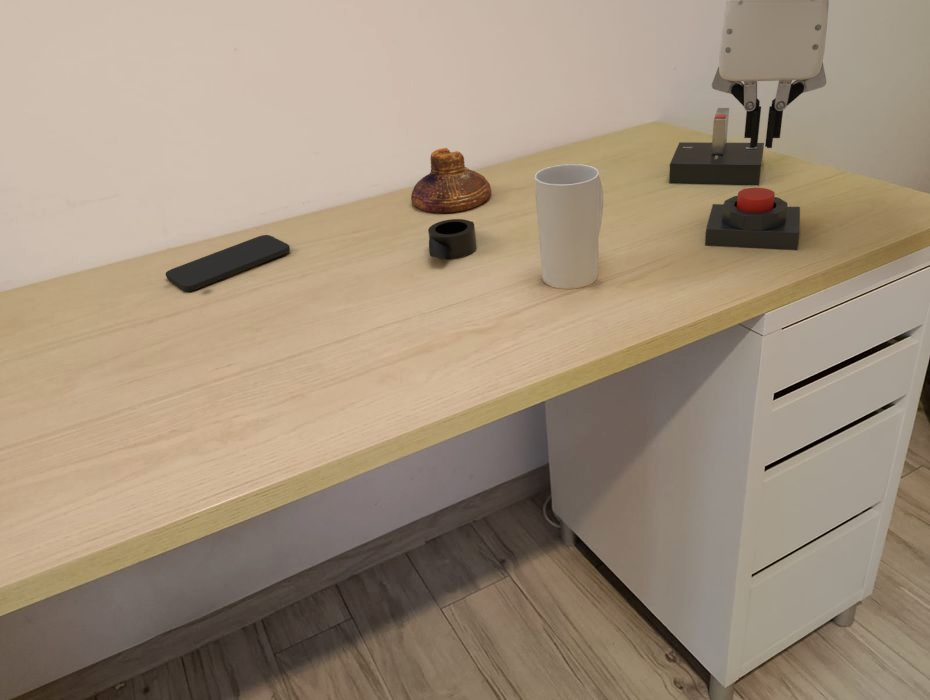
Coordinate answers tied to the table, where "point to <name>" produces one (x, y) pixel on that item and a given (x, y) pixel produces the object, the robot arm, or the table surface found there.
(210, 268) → the phone
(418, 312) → the table surface
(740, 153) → the plate
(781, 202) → the button box
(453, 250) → the duct tape
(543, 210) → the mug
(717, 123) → the tap handle
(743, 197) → the button
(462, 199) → the bell
